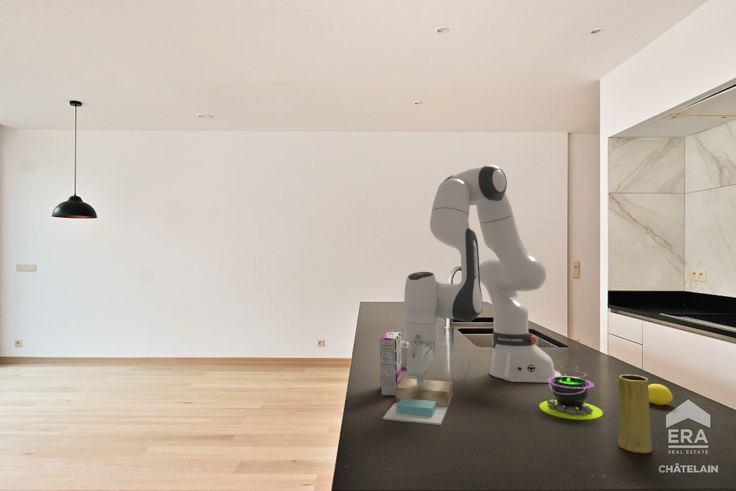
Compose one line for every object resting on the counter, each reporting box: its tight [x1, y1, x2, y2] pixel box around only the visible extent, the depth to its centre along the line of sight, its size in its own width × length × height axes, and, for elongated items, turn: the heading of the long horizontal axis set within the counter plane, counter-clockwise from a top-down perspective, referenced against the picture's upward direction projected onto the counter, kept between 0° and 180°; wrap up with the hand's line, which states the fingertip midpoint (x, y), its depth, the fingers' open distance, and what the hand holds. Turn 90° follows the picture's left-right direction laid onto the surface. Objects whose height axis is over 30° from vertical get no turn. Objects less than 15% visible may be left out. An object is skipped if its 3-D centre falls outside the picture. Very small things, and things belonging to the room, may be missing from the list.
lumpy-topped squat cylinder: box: [401, 339, 409, 369], centre depth 169 cm, size 10×13×9 cm
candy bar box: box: [379, 331, 403, 397], centre depth 136 cm, size 11×5×16 cm, turn 168°
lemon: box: [648, 383, 674, 406], centre depth 122 cm, size 7×5×5 cm
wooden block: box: [395, 377, 454, 408], centre depth 128 cm, size 14×10×4 cm
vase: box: [617, 374, 653, 454], centre depth 95 cm, size 6×6×14 cm
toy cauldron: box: [539, 364, 604, 421], centre depth 119 cm, size 15×15×11 cm
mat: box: [382, 402, 448, 426], centre depth 116 cm, size 14×12×1 cm
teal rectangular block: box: [396, 398, 436, 417], centre depth 116 cm, size 9×6×2 cm, turn 73°
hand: (421, 384), depth 123 cm, fingers closed
